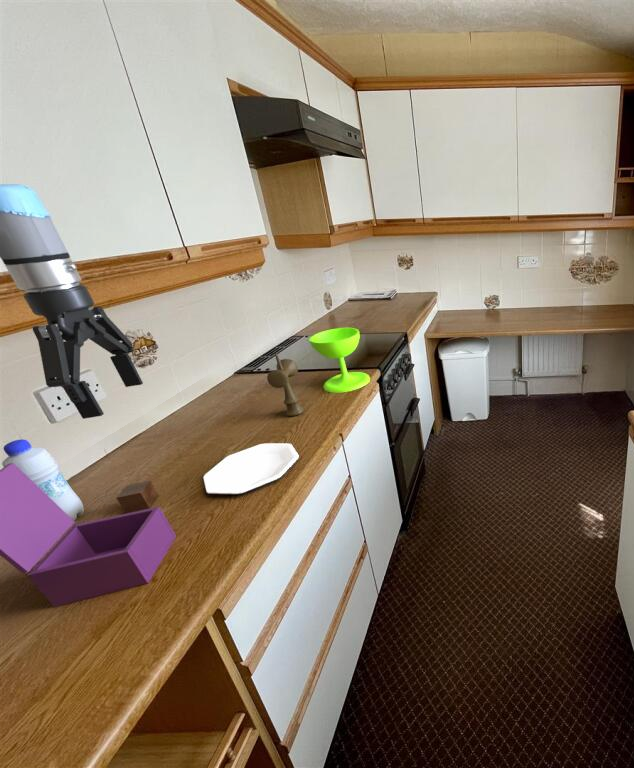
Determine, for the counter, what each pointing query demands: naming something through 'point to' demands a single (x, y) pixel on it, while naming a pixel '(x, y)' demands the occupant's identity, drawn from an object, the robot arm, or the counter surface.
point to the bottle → (44, 475)
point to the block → (137, 496)
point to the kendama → (286, 384)
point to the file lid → (27, 520)
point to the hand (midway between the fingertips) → (115, 399)
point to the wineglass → (340, 357)
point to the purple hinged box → (104, 556)
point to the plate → (250, 468)
